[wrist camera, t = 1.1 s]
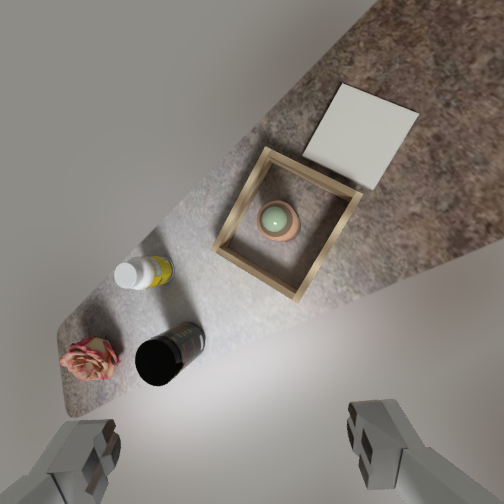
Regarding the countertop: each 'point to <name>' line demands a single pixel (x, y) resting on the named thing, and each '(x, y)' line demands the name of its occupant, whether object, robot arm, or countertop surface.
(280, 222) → the peach bottle
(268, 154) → the brown wooden rectangular frame
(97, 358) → the flower
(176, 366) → the supplement container
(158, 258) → the supplement bottle
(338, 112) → the paving tile
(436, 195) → the countertop surface
